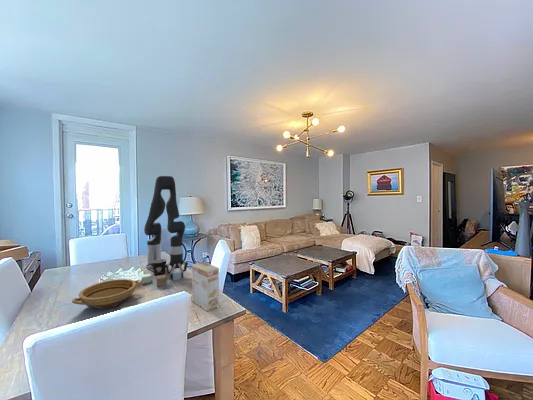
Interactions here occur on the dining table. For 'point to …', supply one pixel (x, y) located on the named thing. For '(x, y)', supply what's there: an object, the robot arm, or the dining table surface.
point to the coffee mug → (158, 267)
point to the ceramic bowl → (106, 293)
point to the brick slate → (176, 275)
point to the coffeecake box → (205, 285)
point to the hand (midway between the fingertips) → (176, 278)
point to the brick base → (161, 280)
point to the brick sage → (146, 278)
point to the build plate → (154, 286)
